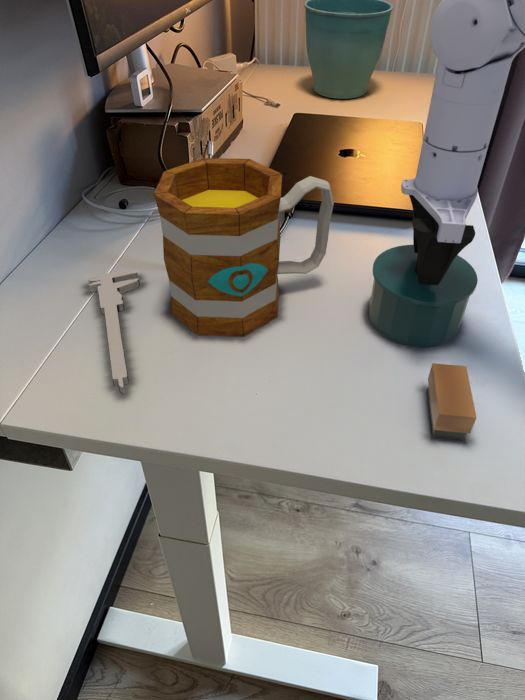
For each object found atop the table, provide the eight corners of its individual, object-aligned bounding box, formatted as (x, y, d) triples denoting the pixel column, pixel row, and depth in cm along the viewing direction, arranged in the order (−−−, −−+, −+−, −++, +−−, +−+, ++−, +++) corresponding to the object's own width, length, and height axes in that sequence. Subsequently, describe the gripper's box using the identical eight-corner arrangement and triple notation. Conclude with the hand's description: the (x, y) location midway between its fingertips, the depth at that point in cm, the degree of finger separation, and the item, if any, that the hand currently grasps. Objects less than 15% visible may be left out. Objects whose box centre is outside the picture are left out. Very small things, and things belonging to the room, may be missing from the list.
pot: (453, 294, 66) (465, 253, 62) (464, 351, 58) (479, 308, 54) (368, 288, 67) (375, 247, 63) (369, 342, 59) (376, 299, 55)
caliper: (141, 277, 69) (91, 280, 68) (140, 270, 68) (89, 273, 68) (127, 393, 54) (63, 398, 53) (125, 386, 53) (60, 391, 53)
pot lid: (467, 256, 62) (478, 219, 59) (482, 315, 54) (496, 276, 51) (371, 249, 64) (376, 213, 60) (372, 306, 56) (378, 268, 52)
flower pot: (380, 81, 128) (392, -4, 116) (381, 107, 115) (394, 14, 103) (304, 77, 130) (308, -6, 119) (296, 102, 117) (300, 11, 105)
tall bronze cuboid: (457, 391, 54) (466, 366, 52) (466, 442, 49) (476, 417, 47) (425, 387, 54) (432, 362, 52) (430, 438, 50) (438, 413, 47)
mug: (184, 350, 59) (167, 226, 48) (159, 281, 68) (141, 166, 58) (348, 312, 63) (364, 193, 53) (304, 253, 73) (310, 142, 63)
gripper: (406, 110, 54) (385, 229, 64) (416, 171, 44) (390, 304, 53) (478, 113, 54) (447, 233, 63) (506, 176, 43) (464, 310, 52)
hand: (425, 266), depth 58 cm, fingers open, 5 cm apart
